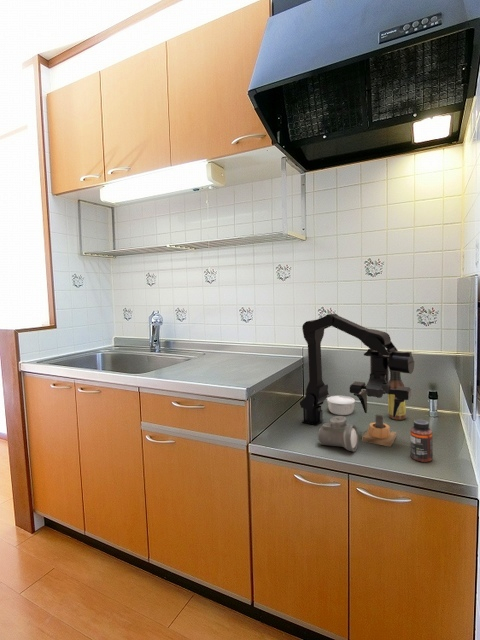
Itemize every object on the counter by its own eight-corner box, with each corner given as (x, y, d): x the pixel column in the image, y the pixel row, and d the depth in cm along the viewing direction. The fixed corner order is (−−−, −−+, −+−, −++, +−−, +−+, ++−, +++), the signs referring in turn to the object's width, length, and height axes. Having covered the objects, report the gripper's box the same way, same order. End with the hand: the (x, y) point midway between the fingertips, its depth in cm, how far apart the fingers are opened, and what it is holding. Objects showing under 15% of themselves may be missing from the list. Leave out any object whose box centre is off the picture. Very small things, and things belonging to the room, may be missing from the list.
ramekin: (358, 409, 153) (358, 397, 152) (351, 418, 143) (350, 405, 143) (332, 405, 159) (332, 394, 158) (323, 413, 149) (323, 401, 149)
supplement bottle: (429, 454, 111) (429, 418, 110) (435, 463, 105) (435, 425, 104) (408, 453, 112) (408, 417, 111) (413, 462, 107) (413, 425, 106)
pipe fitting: (361, 444, 119) (356, 414, 118) (353, 456, 112) (348, 425, 111) (326, 440, 126) (321, 412, 125) (317, 451, 119) (312, 422, 118)
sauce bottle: (406, 416, 142) (406, 366, 141) (404, 421, 137) (404, 370, 135) (389, 413, 146) (389, 365, 144) (386, 418, 141) (385, 368, 139)
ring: (367, 435, 122) (367, 427, 122) (372, 429, 128) (372, 421, 127) (386, 439, 119) (386, 430, 119) (390, 432, 124) (390, 424, 124)
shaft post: (362, 440, 122) (362, 417, 121) (369, 431, 130) (369, 409, 129) (390, 446, 117) (390, 422, 116) (396, 436, 124) (396, 414, 124)
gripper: (343, 372, 120) (344, 418, 121) (405, 378, 109) (405, 428, 111) (354, 365, 129) (354, 408, 130) (411, 370, 118) (411, 416, 120)
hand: (379, 415), depth 122 cm, fingers open, 9 cm apart
